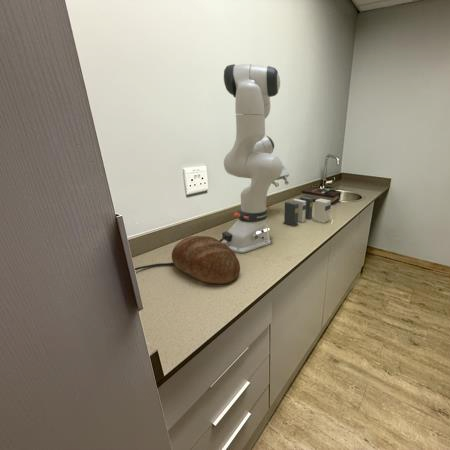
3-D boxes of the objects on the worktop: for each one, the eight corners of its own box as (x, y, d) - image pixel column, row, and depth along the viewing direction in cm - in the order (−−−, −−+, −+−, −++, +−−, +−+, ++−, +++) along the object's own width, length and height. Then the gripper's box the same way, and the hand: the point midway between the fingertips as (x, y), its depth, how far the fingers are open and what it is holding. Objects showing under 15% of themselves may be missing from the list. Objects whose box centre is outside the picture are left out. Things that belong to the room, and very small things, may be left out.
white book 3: (326, 221, 140) (328, 201, 135) (316, 219, 143) (317, 199, 139) (329, 220, 142) (331, 200, 138) (318, 217, 146) (320, 198, 141)
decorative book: (309, 185, 197) (344, 190, 185) (308, 194, 200) (343, 200, 188) (298, 189, 181) (336, 195, 169) (297, 199, 184) (335, 205, 172)
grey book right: (309, 219, 142) (310, 199, 138) (299, 216, 146) (300, 197, 142) (312, 218, 145) (313, 198, 140) (302, 215, 148) (303, 196, 144)
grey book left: (294, 226, 130) (295, 204, 126) (284, 223, 134) (284, 202, 130) (297, 224, 133) (298, 203, 129) (287, 221, 136) (288, 201, 132)
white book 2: (324, 223, 137) (326, 202, 133) (313, 220, 141) (314, 200, 136) (326, 221, 139) (328, 201, 135) (316, 219, 143) (317, 199, 139)
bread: (199, 249, 100) (196, 223, 96) (251, 272, 86) (250, 243, 82) (161, 264, 88) (156, 235, 84) (215, 294, 73) (211, 261, 69)
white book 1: (302, 222, 136) (303, 202, 132) (292, 219, 140) (292, 199, 136) (305, 221, 139) (306, 201, 134) (295, 218, 142) (295, 198, 138)
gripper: (260, 163, 130) (274, 184, 129) (283, 161, 146) (296, 179, 145) (254, 170, 134) (267, 191, 133) (277, 167, 150) (289, 185, 149)
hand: (282, 185), depth 139 cm, fingers open, 8 cm apart
